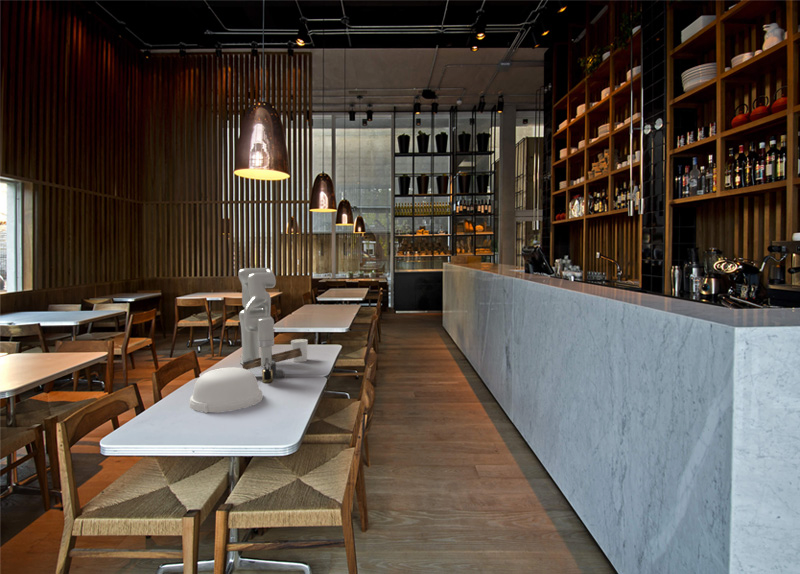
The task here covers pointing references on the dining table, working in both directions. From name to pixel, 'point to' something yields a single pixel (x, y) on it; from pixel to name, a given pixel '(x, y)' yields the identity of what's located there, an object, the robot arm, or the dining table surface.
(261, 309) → the robot arm
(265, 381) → the brass weight
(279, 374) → the beam stand
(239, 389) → the dome cover
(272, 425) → the dining table surface
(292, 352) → the balance beam
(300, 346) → the candle holder
